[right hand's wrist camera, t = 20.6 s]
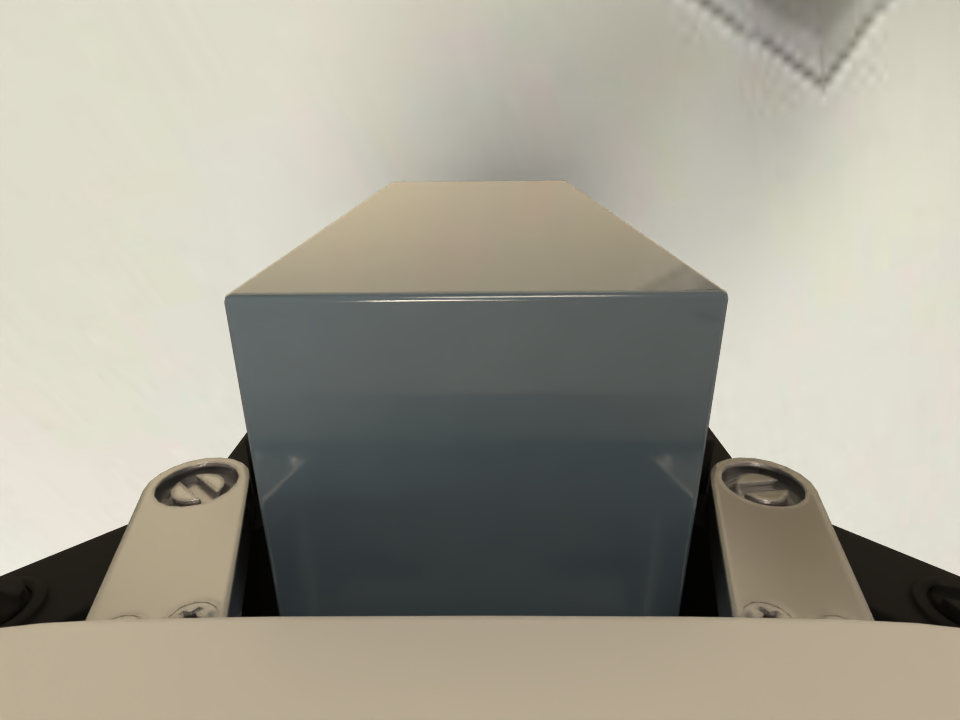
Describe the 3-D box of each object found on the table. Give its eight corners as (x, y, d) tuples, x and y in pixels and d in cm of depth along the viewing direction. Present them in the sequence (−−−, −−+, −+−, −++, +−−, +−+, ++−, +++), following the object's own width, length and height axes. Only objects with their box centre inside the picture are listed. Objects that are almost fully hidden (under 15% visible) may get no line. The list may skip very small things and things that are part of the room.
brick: (406, 431, 19) (312, 819, 8) (390, 181, 16) (219, 295, 6) (555, 429, 19) (649, 818, 8) (566, 180, 16) (732, 292, 6)
